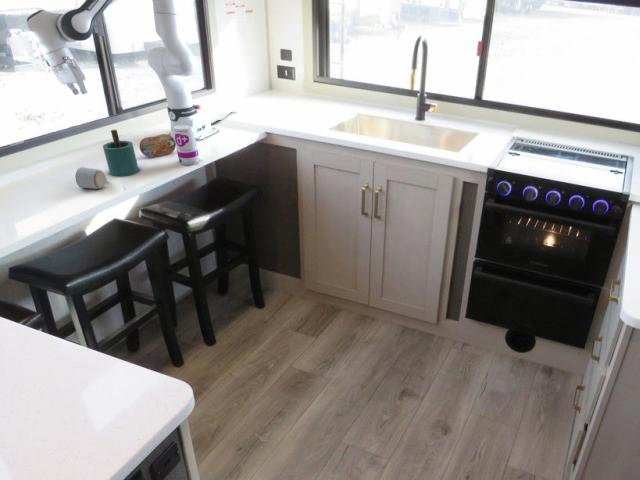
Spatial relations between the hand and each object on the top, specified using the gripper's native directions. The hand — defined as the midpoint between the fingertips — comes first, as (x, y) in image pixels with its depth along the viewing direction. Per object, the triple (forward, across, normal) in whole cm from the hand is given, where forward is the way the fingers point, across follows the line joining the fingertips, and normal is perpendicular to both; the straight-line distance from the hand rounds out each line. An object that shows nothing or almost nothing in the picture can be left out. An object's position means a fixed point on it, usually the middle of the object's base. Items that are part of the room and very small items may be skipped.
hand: (81, 94), depth 226 cm
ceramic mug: (+29, -18, +19) cm, 39 cm away
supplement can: (+38, -18, -20) cm, 46 cm away
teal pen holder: (+31, -10, +4) cm, 33 cm away
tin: (+34, -1, -16) cm, 37 cm away
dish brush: (+30, -10, +4) cm, 32 cm away
